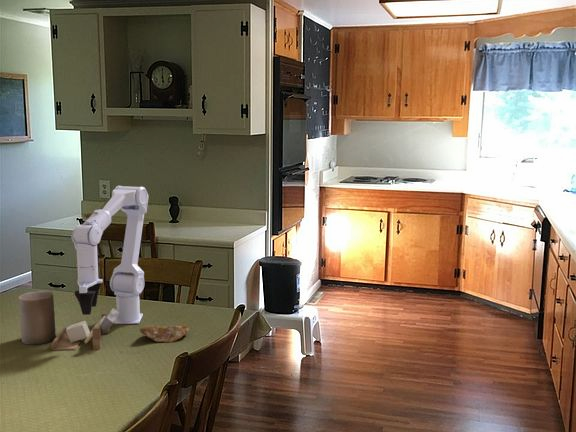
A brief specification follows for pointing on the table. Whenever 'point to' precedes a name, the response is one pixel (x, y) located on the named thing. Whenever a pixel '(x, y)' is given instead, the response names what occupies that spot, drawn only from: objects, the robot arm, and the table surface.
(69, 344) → the frame
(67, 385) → the table surface
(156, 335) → the decorative stone
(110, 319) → the trapdoor
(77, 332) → the stone block
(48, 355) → the table surface
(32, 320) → the pillar candle
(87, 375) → the table surface
